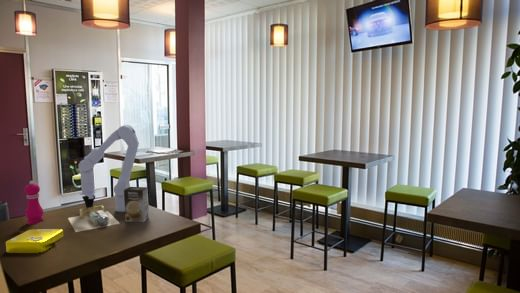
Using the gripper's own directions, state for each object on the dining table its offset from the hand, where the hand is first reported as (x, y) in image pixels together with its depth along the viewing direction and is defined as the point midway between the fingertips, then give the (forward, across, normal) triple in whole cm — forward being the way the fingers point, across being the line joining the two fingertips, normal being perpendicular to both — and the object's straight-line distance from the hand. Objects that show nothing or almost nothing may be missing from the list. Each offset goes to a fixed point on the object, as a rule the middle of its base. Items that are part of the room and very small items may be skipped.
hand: (89, 210), depth 183 cm
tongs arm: (+1, +18, -1) cm, 18 cm away
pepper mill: (+2, -2, -23) cm, 24 cm away
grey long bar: (+1, +20, +2) cm, 20 cm away
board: (+2, +16, -1) cm, 17 cm away
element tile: (+3, +31, -25) cm, 40 cm away
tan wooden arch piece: (+1, +7, 0) cm, 7 cm away
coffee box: (+2, +28, +16) cm, 32 cm away
